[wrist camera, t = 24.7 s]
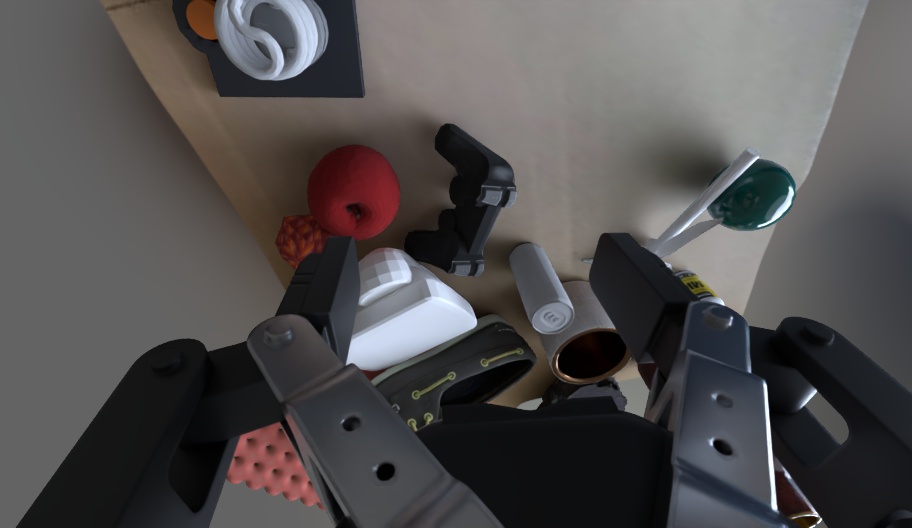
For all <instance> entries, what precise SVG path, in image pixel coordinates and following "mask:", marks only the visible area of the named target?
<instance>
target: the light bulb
mask: <svg viewBox="0 0 912 528" xmlns="http://www.w3.org/2000/svg"><path fill="white" fill-rule="evenodd" d="M214 27H215V32H216V36H217V38H218V41H219V43H220V45H221V48H222V49H223V51H224V52H225V54H226V55H227V57H228V58H229V60H230V61H231V62H232V63H233V64H234V65H235V66H236V67H237V68H239V69H240V70H241V71H243V72H244V73H246V74H248V75H250V76H252V77H254V78H256V79H260V80H275V81H276V80H284V79H288V78H291V77H295V76H296V75H298V74H300V73H301V72H302V71H303V70H304V69H306V68H307V67H308V66H311V65H312V64H313V63H315V62H316V61H317V60H318V59H319V58H320V56H321V55H322V54H323V52H324V51H325V49H326V46H327V43H328V35H329V33H328V27H327V21H326V19H325V17H324V14H323V12H322V10H321V8H320V7H319V6H318V5H317V4H316V3H315V2H314V0H217V1H216V5H215V9H214ZM254 40H255V42H256V44H257V45H258V47H259V48H260V50H261V51H262V52H263V53H264V54H265V55H266V56H267V57H268V58H267V57H266V56H265V55H264V54H263V53H262V52H261V51H260V50H259V49H258V47H257V46H256V44H255V42H254ZM270 59H271V60H270Z"/></svg>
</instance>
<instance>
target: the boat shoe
mask: <svg viewBox="0 0 912 528" xmlns="http://www.w3.org/2000/svg"><path fill="white" fill-rule="evenodd" d="M536 362H537V357H536V354H535V353H534V351H533V350H532V349H531V347H530V346H529V345H528V343H527V342H526V341H525V340H524V338H523V337H521V336H520V335H519V334H518V333H517V332H516V330H515V329H514V328H513V327H512V326H510V325H508V323H507V322H506V321H505V320H504V319H503V318H502V317H501V316H499V315H494V314H493V315H487V316H484V317H481V318H479V319H477V325H476V326H475V327H474V328H473V329H471V330H469V331H467V332H465V333H463V334H461V335H458V336H456V337H454V338H452V339H450V340H448V341H446V342H444V343H443V344H441V345H440V346H438V347H436V348H434V349H432V350H430V351H428V352H426V353H424V354H422V355H419V356H417V357H414V358H412V359H410V360H407V361H405V362H403V363H401V364H398V365H396V366H394V367H392V368H390V369H388V370H386V371H385V372H383V373H381V374H380V375H378V376H377V377H375V378H374V379H373V380H371V383H372V384H373V385H374V386H375V387H376V389H377V390H378V391H379V392H380V393H381V394H382V396H383V397H384V398H385V399H386V400H387V401H388V403H389V404H390V405H391V406H392V407H393V409H394V410H395V411H396V412H397V413H398V414H399V416H400V417H401V418H402V419H403V420H404V421H405V423H406V424H407V425H408V426H409V427H410V429H411V430H412V431H413V432H415V431H417V430H418V429H420V428H421V427H423V426H425V425H428V424H430V423H432V422H434V421H437V420H440V419H442V405H456V404H474V403H487V402H489V401H491V400H493V399H494V398H496V397H497V396H499V395H500V394H502V393H503V392H505V391H506V390H508V389H509V388H510V387H512V386H513V385H515V384H516V383H517V382H519V381H520V380H521V379H522V378H524V377H525V376H526V375H527V374H528V373H529V372H530V371H531V370H532V369H533V367H534V366H535V364H536Z"/></svg>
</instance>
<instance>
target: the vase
mask: <svg viewBox="0 0 912 528" xmlns="http://www.w3.org/2000/svg"><path fill="white" fill-rule="evenodd" d="M637 366H638V371H639V373H640V375H641V377H642V378H643V380H644V382H645V384H646V385H647V387H648V389H649V390H650V388H651V383H652V379H653V375H654V373H655V371H656V369H657V365H656V364H655V363H645V364H638V365H637ZM772 456H773V468H774V480H775V492H776V504H777V510H778V511H780V512H781V513H782V514H784V515H785V516H787V517H788V518H789V519H791V520H792V521H794V522H795V523H796V524H798V525H799V526H801V527H802V528H811V527H813V526H814V525H816V524H817V523H819V522H820V521H821V517H820V516H819V515H818V513H817V512H816V510H815V509H814V508H813V506H812V505H811V504H810V502H809V501H808V500H807V498H806V497H805V496H804V494H803V493H802V492H801V490H800V489H799V487H798V486H797V485H796V483H795V482H794V481H793V479H792V478H791V477H790V475H789V474H788V473H787V471H786V470H785V469H784V467H783V466H782V464H781V463H780V462H779V460H778V459H777V458H776V456H775V455H774V454H773V452H772Z"/></svg>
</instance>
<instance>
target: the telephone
mask: <svg viewBox="0 0 912 528" xmlns="http://www.w3.org/2000/svg"><path fill="white" fill-rule="evenodd" d="M358 266H359V273H360V284H361V287H360V298H359V303H358V308H357V313H356V318H355V323H354V328H353V333H352V338H351V343H350V348H349V353H348V358H347V363H346V366H347V365H348V364H350V363H353V364H355V365H356V366H357V367H358V368H359V369H362V370H368V371H379V370H383V369H387V368H389V367H392V366H394V365H397V364H399V363H402V362H404V361H406V360H408V359H410V358H412V357H415V356H417V355H419V354H421V353H423V352H425V351H427V350H429V349H431V348H433V347H435V346H438V345H440V344H442V343H444V342H446V341H448V340H450V339H452V338H454V337H456V336H458V335H461V334H463V333H465V332H467V331H469V330H471V329H473V328H474V327H475V326H476V325H477V319H476V317H475V314H474V311H473V309H472V307H471V305H470V304H469V303H468V302H467V301H466V300H465V299H464V298H463V297H461V296H460V295H459V294H458V293H457V292H455V291H454V290H453V289H452V288H450V287H449V286H447V285H446V284H444V283H443V282H441V281H440V280H439V279H438V277H437V276H436V275H435V274H434V273H433V272H431V271H430V270H428V269H427V268H425V267H424V266H422V265H421V264H419V263H418V262H417V261H415V260H414V259H413V258H412V257H411V256H409V255H408V254H407V253H406V252H404V251H402V250H399V249H394V248H388V247H386V248H378V249H376V250H373V251H371V252H370V253H369V254H368V255H366V256H365V257H364V258H363V259H362V260H360V261H359V262H358Z"/></svg>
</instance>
